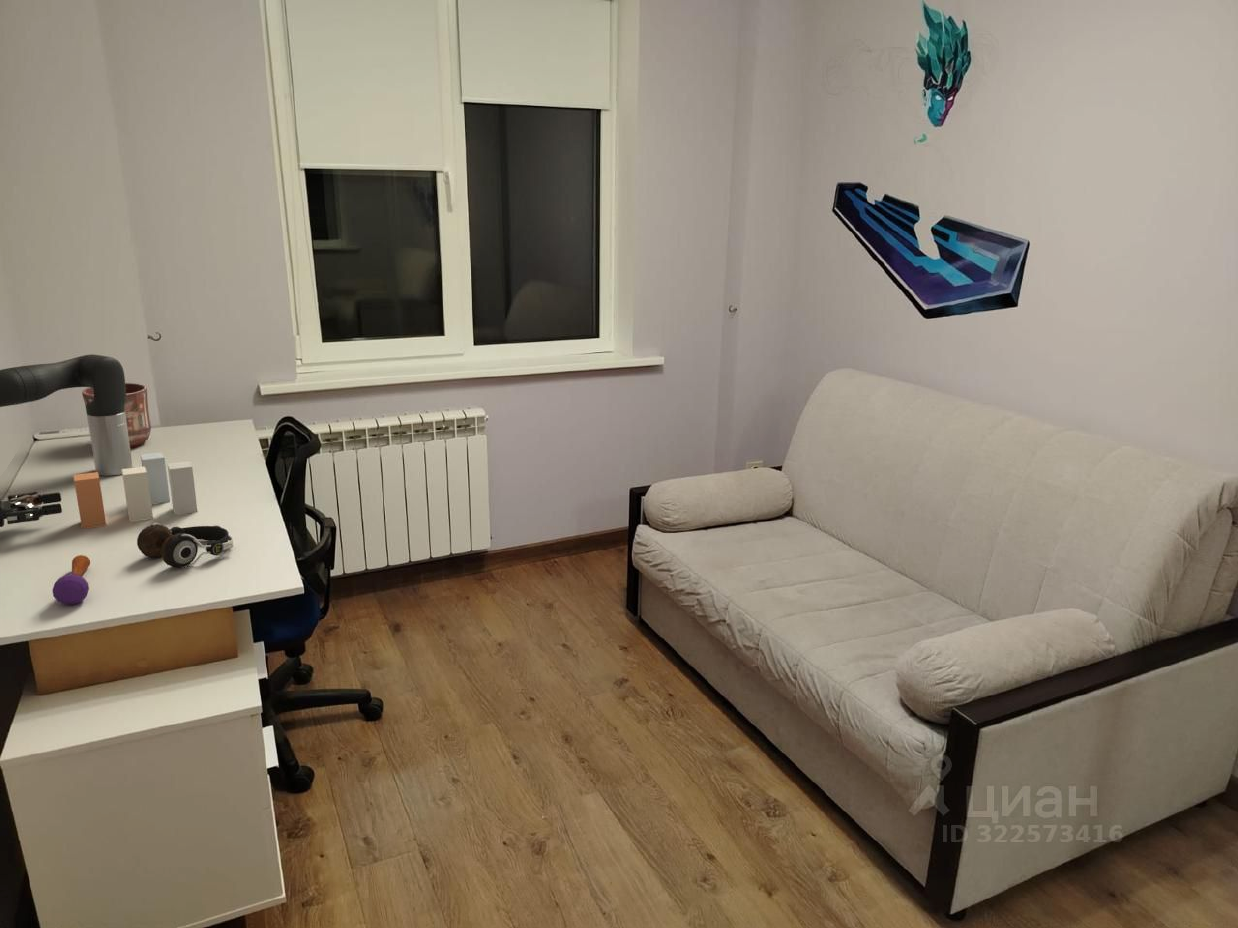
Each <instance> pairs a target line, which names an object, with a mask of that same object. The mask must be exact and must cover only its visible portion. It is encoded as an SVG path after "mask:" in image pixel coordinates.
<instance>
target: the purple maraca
mask: <svg viewBox="0 0 1238 928" xmlns="http://www.w3.org/2000/svg"><path fill="white" fill-rule="evenodd" d="M90 565H91V560H90V558H89V557H88V556H86V555H82V554H79V555H76V556H75V557H73V559H72V561H71V573H70V574H64V575H63V576H61V577H59V578H58V579H57V580H56V581H55V582H54V585H53V587H52V595H53V597H54V600H56V601H57V602H58V603H60V604H62V605H65V606H66V605H67V606H72V605H78V604H79V603H81V602H83V601H84V600H86V598H87V596H88V592H89V591H90V587H89V586H90V585H89V582H88V581H87V580H86V578H85V577H83V576H82V575H83V574H84V573H85V571H86V570H87V569H88V568H89V567H90Z"/></svg>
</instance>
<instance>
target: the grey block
mask: <svg viewBox="0 0 1238 928" xmlns="http://www.w3.org/2000/svg"><path fill="white" fill-rule="evenodd" d="M166 466H167V471H168V479H169V480H168V481H169V486H170V494H171V495H170V497H171V501H172V502H171V503H172V504H171V505H172V510H173V511H174V515H175V516H177V515H183V514H184V515H185V514H190V513H197V512H198V505H197V504H198V503H197V496H196V487H195V477H194V471H193V470H194V469H193V465H192V463H191V462H190V461H189V460H188V461H179V462H172V463H170V462H169V463H167V465H166Z"/></svg>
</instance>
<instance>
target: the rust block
mask: <svg viewBox="0 0 1238 928" xmlns="http://www.w3.org/2000/svg"><path fill="white" fill-rule="evenodd" d="M73 480H74V487H75V493H76V500H77V506H78V512H79V518H80V525H81V529H83V530H84V529H89V528H96V527H102V526H107V520H106V514H105V509H104V501H103V496H102V489H101V482H100V475H98V472H96V471H95V472H88V473H87V472H86V473H77V474H73Z"/></svg>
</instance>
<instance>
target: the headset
mask: <svg viewBox="0 0 1238 928" xmlns="http://www.w3.org/2000/svg"><path fill="white" fill-rule="evenodd" d="M137 536H138V537H137V539H136V540H137V541H136V545H137V548H138V550H139V551H140V552H141V553H142V554H143V555H144V556H145V557H147V558H150V559H157V558H159V557H162V560H163V562H164V563H165V564H166V565H167V566H170V567H172V568H178V567H179V568H180V569H184V568H183V567H185V568H188V567H187V566H190V567H192V566H194V565H195V564H196V563H197V562H198V561H199V560H200V558H201V557H202V556H203V555H206V554H210V555H212V556H219V555H221V554H222V553H223V551H224V552H225V551H226V550H229V549H232V548H234V537H232V536H231V535H230V534H229V531H228V530H227V529H226V528H224V527H221V526H220V525H196V526H188V527H180V526H172V527H171V528H169V527H167V526H165V525H163V524H161V523H158V522H154V523H153V524H150V525H149V526H146V527H145V528H143V529H142V530H141V531H140V533H139V534H138V535H137ZM199 540H202V541H208V542H207V543H206V545H204V544H202V543H201V542H200V541H199ZM198 545H199V546H200V547H201V548H205V550H206V551H205V552H202V553H200V554H199V555H198V557H197V554H198V552H199V551H198V550H199V548H198V547H199V546H198ZM196 557H197V558H196ZM177 566H178V567H177Z"/></svg>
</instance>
